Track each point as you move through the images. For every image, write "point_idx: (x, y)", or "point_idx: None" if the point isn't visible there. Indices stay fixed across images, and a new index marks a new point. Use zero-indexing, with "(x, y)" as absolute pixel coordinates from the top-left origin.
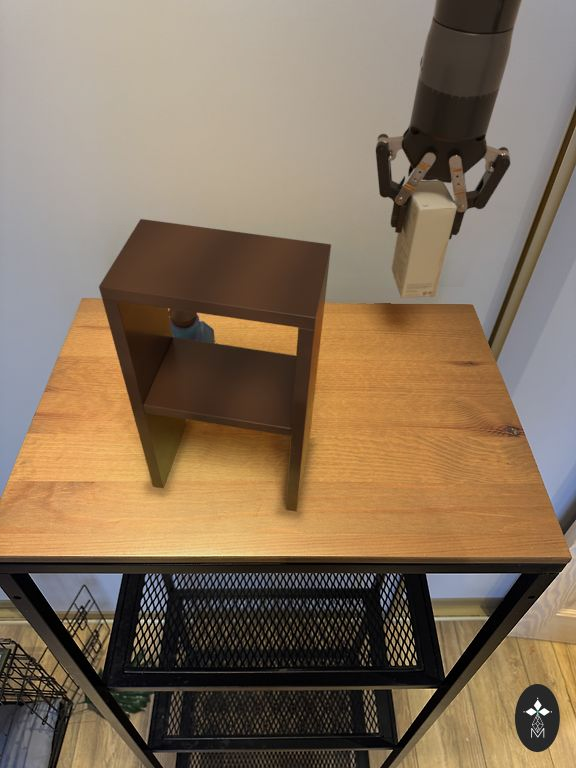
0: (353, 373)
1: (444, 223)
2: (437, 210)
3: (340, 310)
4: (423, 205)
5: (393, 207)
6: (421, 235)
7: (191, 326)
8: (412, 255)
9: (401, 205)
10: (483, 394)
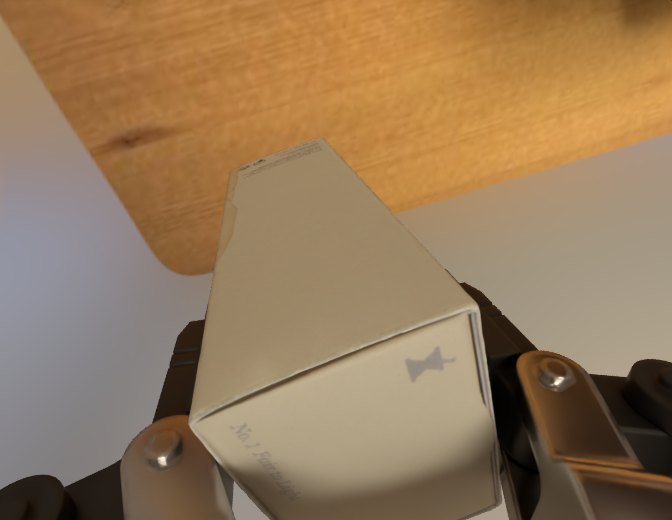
0: (359, 38)
1: (254, 306)
2: (334, 350)
3: (398, 211)
4: (439, 364)
5: (529, 341)
6: (358, 226)
7: None
8: (352, 180)
9: (516, 352)
10: (70, 47)
